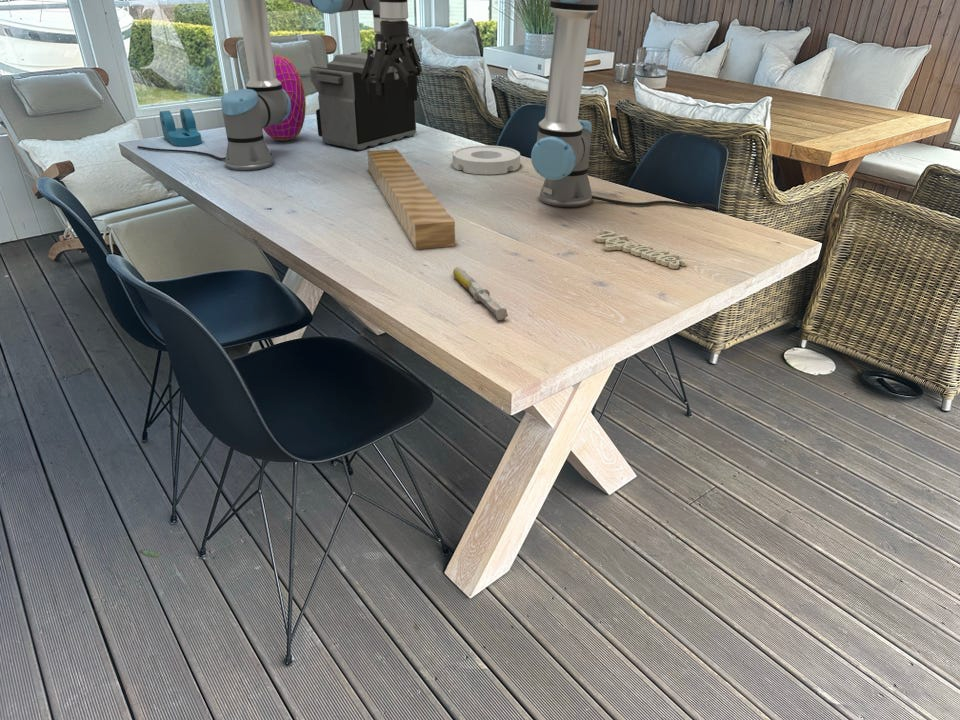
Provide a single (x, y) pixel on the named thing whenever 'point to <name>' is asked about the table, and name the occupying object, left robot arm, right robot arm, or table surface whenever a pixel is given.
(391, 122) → the electronic device
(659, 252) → the decorative sign
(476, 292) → the syringe
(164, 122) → the camera mount
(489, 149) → the ashtray
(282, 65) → the decorative egg
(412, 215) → the wooden beam
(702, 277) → the table surface
